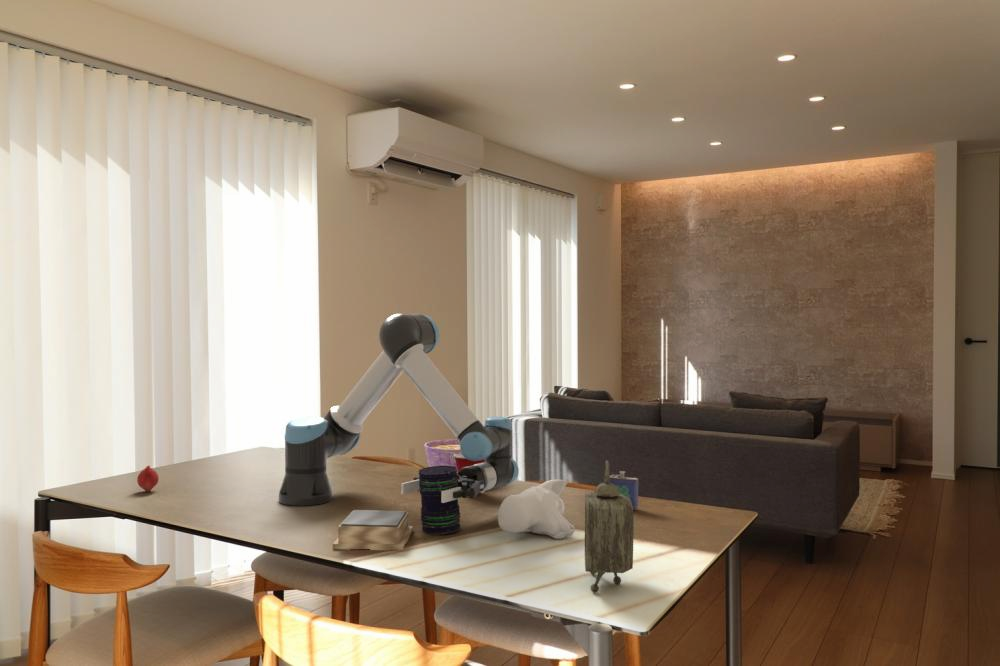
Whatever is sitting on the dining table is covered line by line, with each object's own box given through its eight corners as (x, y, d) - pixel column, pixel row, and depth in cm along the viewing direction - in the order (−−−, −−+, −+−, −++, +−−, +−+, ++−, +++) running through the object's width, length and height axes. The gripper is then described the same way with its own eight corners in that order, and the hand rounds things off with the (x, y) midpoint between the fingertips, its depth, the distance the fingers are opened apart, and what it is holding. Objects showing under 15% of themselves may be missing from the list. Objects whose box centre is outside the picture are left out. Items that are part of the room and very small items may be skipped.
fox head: (560, 520, 173) (600, 498, 189) (504, 485, 181) (546, 467, 198) (543, 569, 177) (583, 542, 193) (489, 532, 185) (532, 510, 201)
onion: (132, 492, 225) (132, 465, 225) (148, 488, 231) (148, 462, 231) (147, 494, 223) (147, 467, 223) (162, 490, 228) (162, 464, 228)
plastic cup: (490, 489, 235) (490, 451, 234) (486, 497, 224) (486, 457, 224) (455, 488, 236) (456, 450, 235) (450, 496, 225) (450, 456, 225)
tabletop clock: (584, 571, 160) (585, 453, 159) (627, 572, 159) (629, 455, 159) (585, 596, 146) (587, 467, 145) (633, 598, 145) (635, 468, 144)
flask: (638, 509, 212) (639, 471, 212) (636, 511, 210) (637, 473, 210) (606, 506, 216) (607, 468, 216) (604, 508, 213) (604, 470, 213)
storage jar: (413, 530, 189) (409, 471, 189) (441, 521, 196) (438, 464, 196) (440, 536, 182) (437, 475, 182) (469, 526, 190) (465, 467, 189)
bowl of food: (488, 485, 241) (489, 449, 241) (426, 486, 238) (426, 450, 237) (480, 472, 261) (480, 439, 260) (422, 473, 257) (422, 440, 257)
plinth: (332, 549, 173) (332, 525, 173) (349, 529, 189) (349, 508, 189) (401, 550, 172) (402, 527, 172) (413, 531, 188) (413, 509, 188)
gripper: (513, 499, 196) (460, 516, 179) (441, 486, 211) (386, 500, 194) (513, 471, 196) (460, 485, 179) (441, 459, 211) (386, 471, 194)
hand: (421, 493), depth 186 cm, fingers open, 13 cm apart
